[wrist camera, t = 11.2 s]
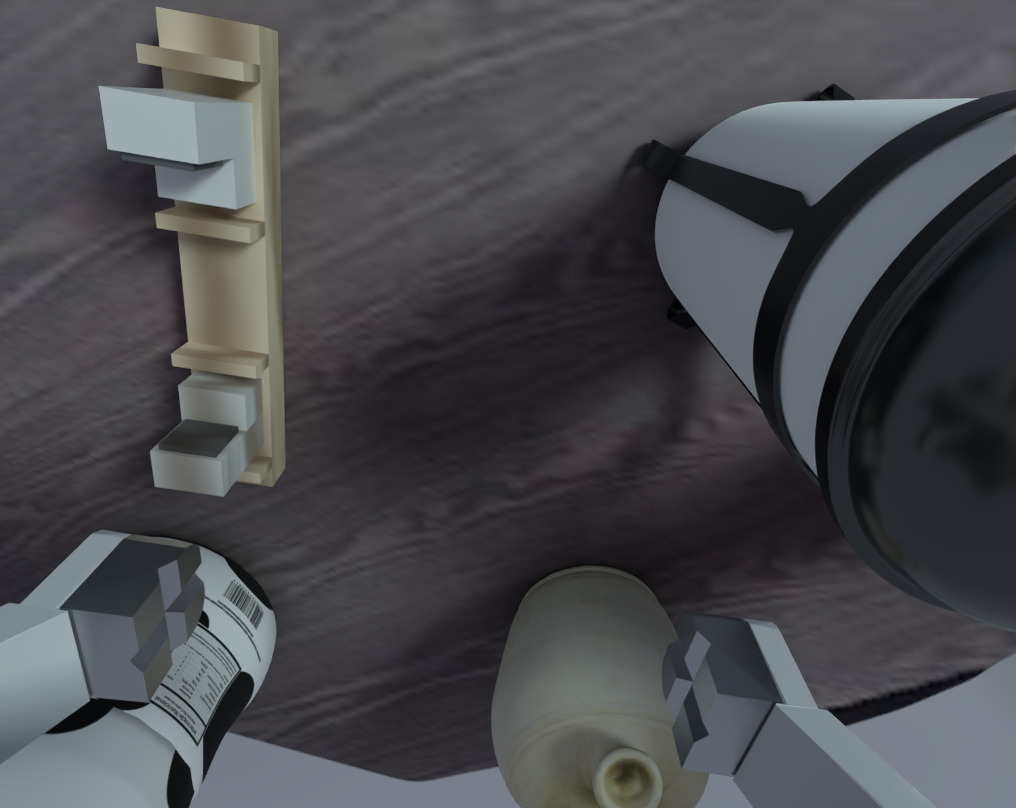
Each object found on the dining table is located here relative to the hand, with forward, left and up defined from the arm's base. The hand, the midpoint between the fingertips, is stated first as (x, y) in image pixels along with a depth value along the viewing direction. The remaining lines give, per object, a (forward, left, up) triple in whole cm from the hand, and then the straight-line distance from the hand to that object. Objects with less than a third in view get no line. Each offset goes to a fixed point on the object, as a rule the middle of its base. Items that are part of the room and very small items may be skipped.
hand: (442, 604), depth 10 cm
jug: (-12, +30, -29) cm, 44 cm away
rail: (+16, +5, -29) cm, 34 cm away
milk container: (+22, +34, -29) cm, 50 cm away
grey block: (+16, -3, -27) cm, 31 cm away
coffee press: (-15, -3, -29) cm, 33 cm away
